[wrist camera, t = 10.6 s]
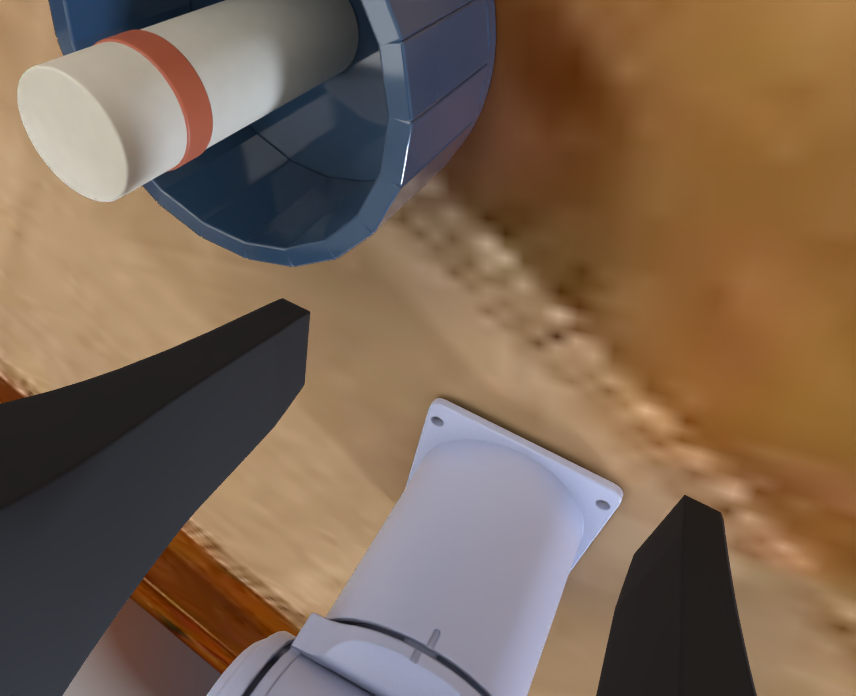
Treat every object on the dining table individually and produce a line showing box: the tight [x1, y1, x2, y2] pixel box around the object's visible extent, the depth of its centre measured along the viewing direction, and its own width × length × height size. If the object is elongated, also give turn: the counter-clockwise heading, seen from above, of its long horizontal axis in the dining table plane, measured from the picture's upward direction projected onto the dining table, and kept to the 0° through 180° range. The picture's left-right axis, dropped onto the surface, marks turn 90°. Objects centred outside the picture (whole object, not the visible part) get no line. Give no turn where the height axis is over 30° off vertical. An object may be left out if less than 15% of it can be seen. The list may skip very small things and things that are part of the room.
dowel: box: [17, 0, 359, 202], centre depth 15 cm, size 3×3×8 cm
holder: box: [48, 0, 496, 267], centre depth 17 cm, size 10×10×5 cm
